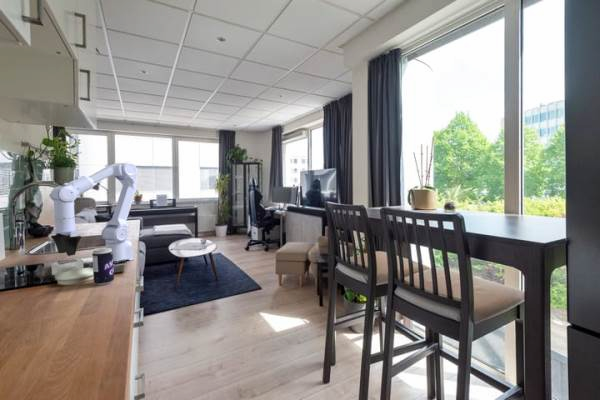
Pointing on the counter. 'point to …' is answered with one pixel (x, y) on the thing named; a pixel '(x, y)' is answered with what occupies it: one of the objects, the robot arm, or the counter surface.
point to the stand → (75, 276)
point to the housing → (66, 266)
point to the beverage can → (103, 265)
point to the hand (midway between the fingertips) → (66, 254)
